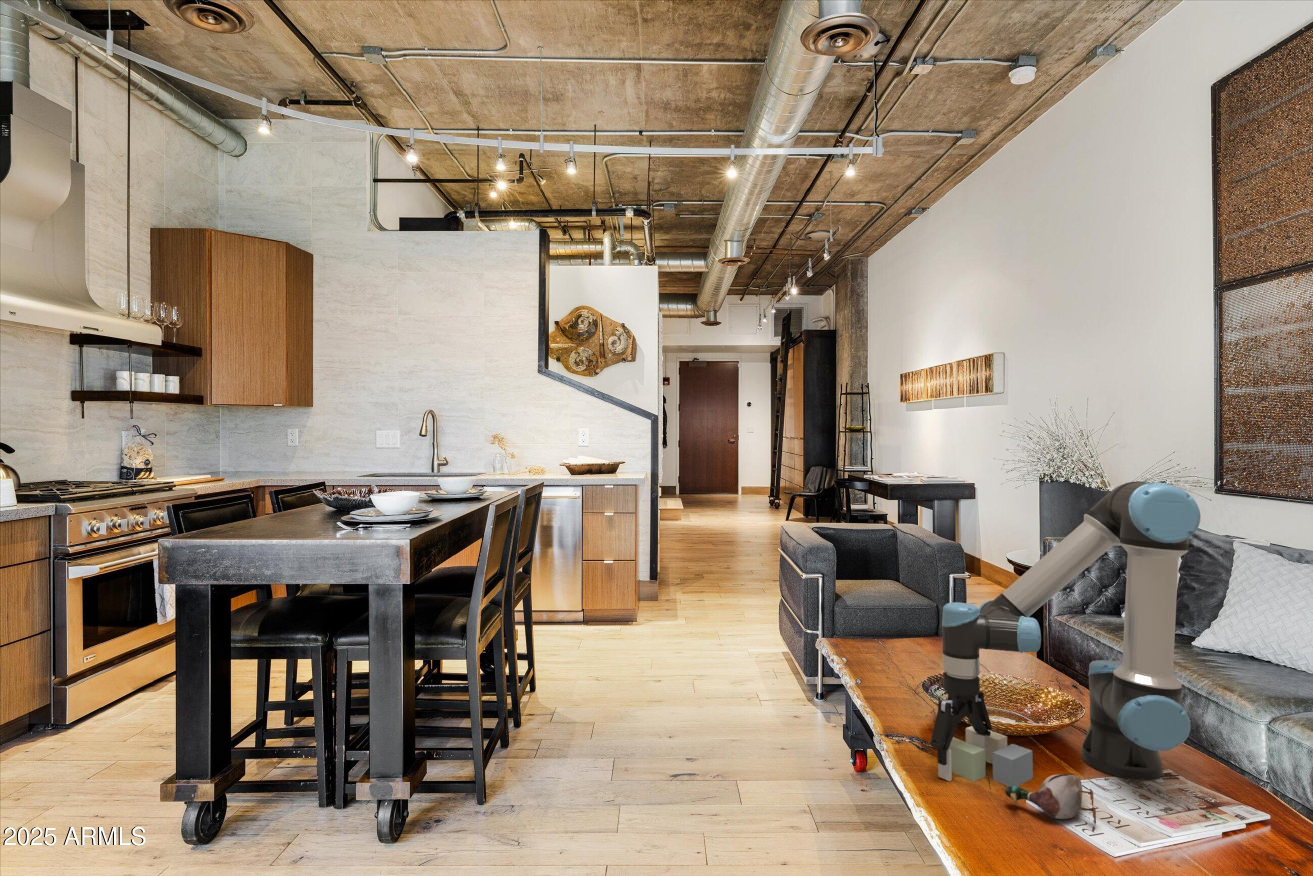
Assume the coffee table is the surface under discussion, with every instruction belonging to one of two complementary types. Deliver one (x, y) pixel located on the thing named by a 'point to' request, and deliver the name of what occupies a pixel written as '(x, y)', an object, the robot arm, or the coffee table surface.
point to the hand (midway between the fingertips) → (962, 771)
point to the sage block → (967, 760)
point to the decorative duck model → (1055, 796)
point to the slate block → (1012, 765)
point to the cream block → (989, 742)
